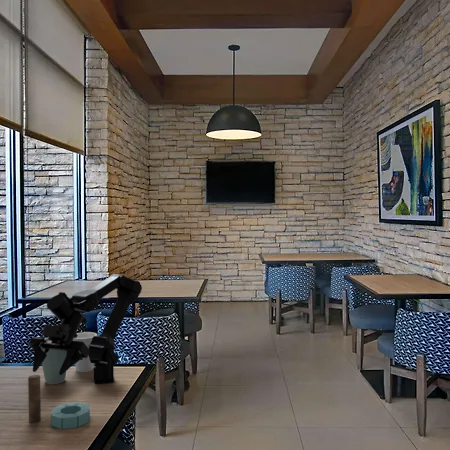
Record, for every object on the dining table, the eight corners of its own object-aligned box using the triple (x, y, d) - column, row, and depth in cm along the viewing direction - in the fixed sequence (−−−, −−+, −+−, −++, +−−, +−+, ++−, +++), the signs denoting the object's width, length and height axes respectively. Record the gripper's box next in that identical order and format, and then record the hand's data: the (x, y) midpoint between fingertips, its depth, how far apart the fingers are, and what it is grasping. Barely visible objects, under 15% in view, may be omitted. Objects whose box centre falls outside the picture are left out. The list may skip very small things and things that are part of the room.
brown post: (41, 416, 137) (40, 374, 137) (40, 421, 134) (39, 378, 134) (29, 418, 136) (29, 375, 136) (28, 423, 133) (27, 379, 133)
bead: (89, 410, 141) (89, 400, 141) (89, 425, 131) (89, 415, 131) (53, 414, 139) (53, 404, 139) (49, 430, 129) (49, 419, 129)
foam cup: (66, 371, 175) (65, 337, 175) (81, 364, 184) (81, 331, 184) (87, 374, 172) (87, 339, 172) (102, 367, 181) (102, 333, 181)
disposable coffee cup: (64, 386, 160) (63, 343, 160) (33, 386, 161) (32, 343, 160) (74, 376, 171) (74, 335, 171) (45, 375, 171) (44, 335, 171)
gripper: (31, 311, 148) (6, 356, 137) (83, 315, 142) (61, 362, 132) (48, 330, 155) (25, 374, 145) (98, 334, 150) (78, 380, 140)
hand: (46, 372), depth 140 cm, fingers open, 9 cm apart
